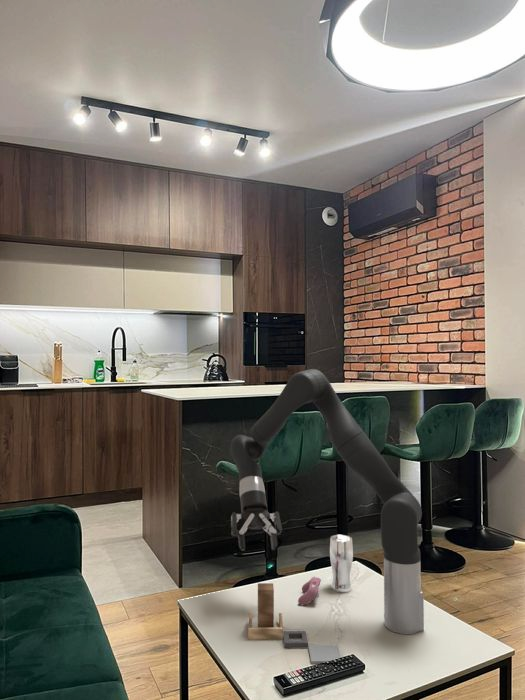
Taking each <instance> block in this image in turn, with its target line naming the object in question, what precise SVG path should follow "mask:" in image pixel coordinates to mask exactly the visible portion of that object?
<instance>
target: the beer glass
mask: <svg viewBox="0 0 525 700" xmlns="http://www.w3.org/2000/svg"><path fill="white" fill-rule="evenodd" d="M329 558H330V565H331V571H332V581H331V589H332V590H333V591H335V592H337V593H349V592H351V591H352V589H353V587H352V581H351V572H352V566H353V559H354V545H353V537H351V536H349V535H345V534H335V535H331V536H330V543H329Z"/></svg>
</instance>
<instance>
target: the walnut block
mask: <svg viewBox="0 0 525 700" xmlns="http://www.w3.org/2000/svg"><path fill="white" fill-rule="evenodd" d="M274 587H275V586H274V583H273V582H272V583H271V582H270V583H266V582H264V583H263V582H262V583H261V582H260V583H257V627H275V625H274V624H275V622H274V621H275V619H274V618H275V616H274V615H275V612H274V611H275V604H274V601H275V597H274V596H275V594H274V592H275V590H274Z"/></svg>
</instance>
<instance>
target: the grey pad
mask: <svg viewBox="0 0 525 700" xmlns="http://www.w3.org/2000/svg"><path fill="white" fill-rule="evenodd" d="M339 648H340V647H339V645H338V644H308V648H307V649H308V653H309V659H310V665H321V664H320V663H324V662H328V661H331V660H334V659H338V658H342V655H341V651H340V649H339Z"/></svg>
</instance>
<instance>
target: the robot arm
mask: <svg viewBox="0 0 525 700" xmlns="http://www.w3.org/2000/svg"><path fill="white" fill-rule="evenodd" d="M309 403H313V404H314V405H315V406H316V408H317V410H318V411H320V413H321V414H322V416H323V418H324V420H325V422H326V426H327V430H328V434H329V437H330V441H331V443H332V444H331V445H332V446H333V448H334V449H335V451H336V452H337V453H338V455H339V456H340V458H341V460H342V461H343V463H345V464H346V466H348V468H349V469H350V470H352V472H354V473H355V474H356V475H357V476H358V477H360V478H361V479H362V480H363V481H364V482H366V483H367V484H368V485H369V486H370V488H371V489H373V490H374V492H375V494H376V495H377V496H378V498H379V499H380V501H381V503H382V504H383V506H382V508H381V511H380V512H381V513H380V538H381V540H380V541H381V542H380V543H381V547H382V551H383V604H384V605H383V613H384V614H383V618H384V620H383V621H384V622H383V623H384V626H385V628H387V629H389V630H390V631H391V632H393V633H397V634H401V635H403V634H404V635H412V634H413V635H414V634H417V633H418V632H424V631H425V623H424V622H425V621H424V620H425V618H424V616H425V613H424V611H425V610H424V609H425V608H424V606H425V604H424V592H423V590H422V588H421V584H422V583H421V575H422V574H421V550H420V548H419V543H418V541H419V540H418V538H419V537H418V536H419V535H418V525H419V523H420V522H421V520H422V516H423V511H422V506H421V504H420V501H419V500H418V499H417V498H416V497H415V495H414V494H413V493H412V492H411V491H410V490H409V489H408V488H407V487H406V486H405V485H404V483H403V482H402V481H401V480H400V479H399V478H398V477H397V476H396V474H395V473H394V472H393V471H392V469H391V468H390V466H389V464H388V463H387V462H386V461H385V459H384V458H383V456H382V455H381V454H380V452H379V450H378V449H377V448H376V447H375V445H374V444H373V442H372V441H371V440H370V438H369V437H368V435H367V434H366V432H364V430H363V429H362V428H361V427H360V426H359V424H358V423H357V421H356V420H355V419H354V417H353V415H352V414H351V413H350V412H349V410H348V409H347V408H346V407H345V405H344V404H343V402H342V400H341V399H340V398H339V396H338V395H337V393H336V391H335V389H334V388H333V386H332V384H331V383H330V381H329V380H328V377H326V375H325V374H324V373H322V371H320V370H318V369H315V368H311V369H305V370H301V371H298V372H296V373H294V374H293V375H292V376H291V377H290V378H289V380H288V381H287V383H286V384H285V386H284V388H283V389H282V390H281V392H280V394H279V395H278V397H277V398H276V400H275V401H274V403H273V404H272V405H271V406H270V407H269V408H268V409H267V411H266V412H265V413H264V414H263V415H262V416H261V417H259V419H258V420H257V421H256V422H255V423H254V425H252V427H251V429H250V431H249V432H250V436H251V437H250V436H246V435H243V434H237V435H236V436H235V437H233V438H232V440H231V443H230V452H231V457H232V459H233V461H234V465H235V467H236V469H237V471H238V478H239V481H238V482H239V489H238V490H239V498H240V510H241V513H237V512H235V511H233V512H232V514H231V516H230V531H231V533H230V536H231V537H237V539H238V540H237V541H238V548H239V549H240V550H241V551H242V552H244V551H246V540H245V533H246V532H247V530H248V529H249V530H252V531H253V530H260V531H261V530H262V529H263V531H265V532H266V533H267V534H268V535H269V536H270V537H269V539H270V540H269V541H270V546H271V550H272V551H275V550H276V549H277V546H278V538H277V537H278V536H280V535H281V533H282V531H283V527H282V521H281V518H280V517H281V516H280V512H279V511H275V512H272V513H270V512H269V511H268V504H267V497H266V490H265V484H264V481H263V471H262V466H261V464H259V462H257V461H258V460H260V459H261V458H262V457H263V456H264V453H265V451H266V449H267V447H268V446H269V444H270V442H271V441H272V440H273V439H274V438H275V436H277V435H278V433H280V431H281V430H282V429H283V428H284V426H285V425H286V422H287V420H288V419H289V417H290V416H292V414H293V413H294V412H295V411H297V410H298V409H299V408H301V407H302V406H303V405H305V404H309ZM269 519H271V521H272V522H273V523H274V526H273V524H272V523H271V521H269ZM239 520H240V521H242V522H243V525H242V527H241V528H240V529H238V525H237V524H238V522H239Z"/></svg>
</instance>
